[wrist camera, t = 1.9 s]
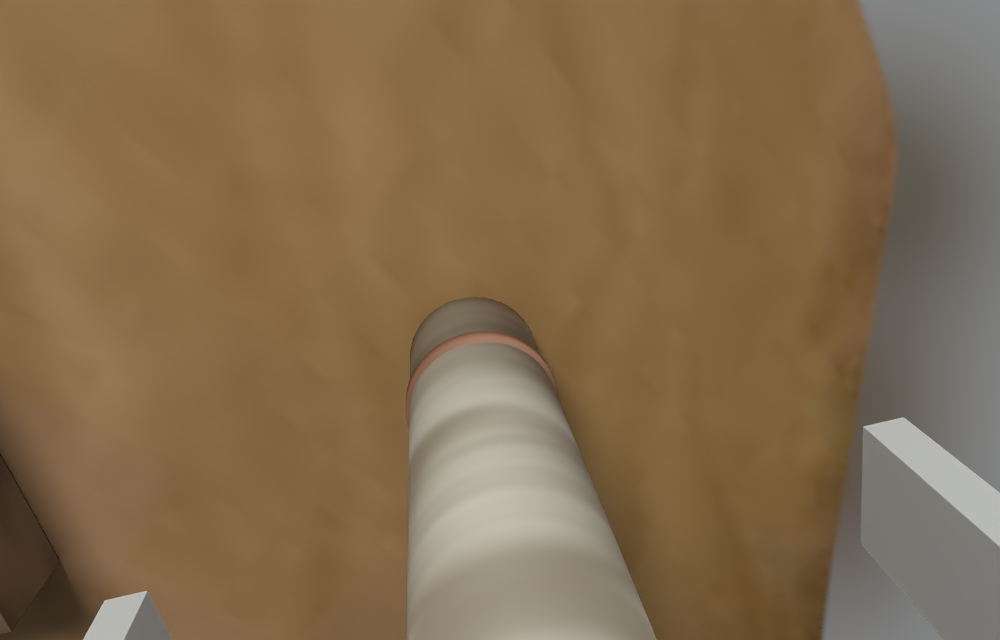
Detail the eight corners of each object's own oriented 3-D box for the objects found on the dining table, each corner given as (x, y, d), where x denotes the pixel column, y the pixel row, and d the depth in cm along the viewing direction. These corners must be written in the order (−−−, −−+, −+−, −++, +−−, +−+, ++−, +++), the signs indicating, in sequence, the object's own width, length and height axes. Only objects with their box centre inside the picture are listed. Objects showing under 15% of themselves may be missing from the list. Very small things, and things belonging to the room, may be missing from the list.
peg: (547, 398, 23) (718, 845, 10) (424, 426, 23) (436, 916, 10) (525, 281, 22) (694, 635, 9) (392, 310, 21) (359, 716, 8)
